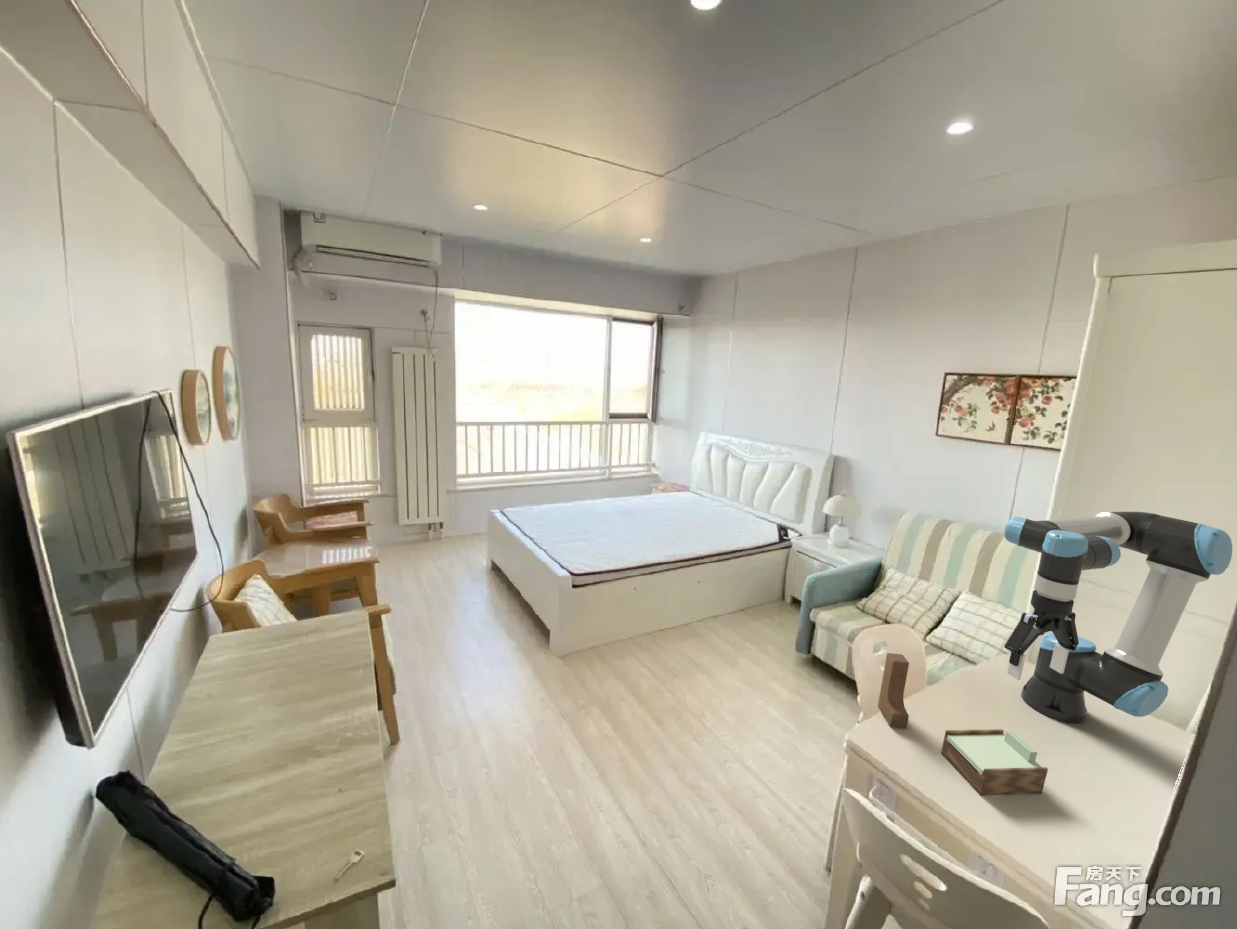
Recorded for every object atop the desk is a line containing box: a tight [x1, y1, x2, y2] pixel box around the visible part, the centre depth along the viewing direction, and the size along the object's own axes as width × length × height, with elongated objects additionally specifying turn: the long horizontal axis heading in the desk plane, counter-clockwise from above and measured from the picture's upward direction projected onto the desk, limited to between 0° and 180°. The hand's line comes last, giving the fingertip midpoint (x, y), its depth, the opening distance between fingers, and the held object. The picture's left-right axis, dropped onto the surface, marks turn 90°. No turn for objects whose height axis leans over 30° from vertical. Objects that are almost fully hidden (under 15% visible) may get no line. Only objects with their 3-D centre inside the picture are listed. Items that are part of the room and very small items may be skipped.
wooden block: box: [877, 652, 910, 730], centre depth 141 cm, size 9×4×18 cm, turn 174°
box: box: [940, 728, 1049, 796], centre depth 124 cm, size 16×13×7 cm
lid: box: [947, 730, 1042, 775], centre depth 123 cm, size 16×11×4 cm
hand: (1035, 673), depth 122 cm, fingers open, 13 cm apart
